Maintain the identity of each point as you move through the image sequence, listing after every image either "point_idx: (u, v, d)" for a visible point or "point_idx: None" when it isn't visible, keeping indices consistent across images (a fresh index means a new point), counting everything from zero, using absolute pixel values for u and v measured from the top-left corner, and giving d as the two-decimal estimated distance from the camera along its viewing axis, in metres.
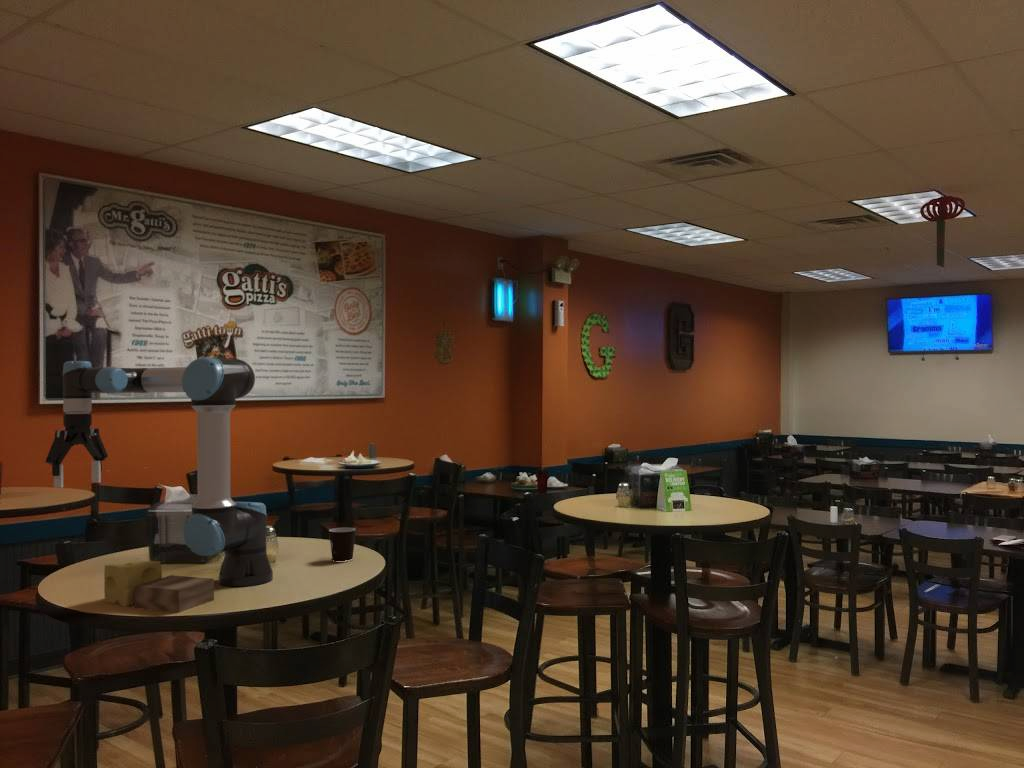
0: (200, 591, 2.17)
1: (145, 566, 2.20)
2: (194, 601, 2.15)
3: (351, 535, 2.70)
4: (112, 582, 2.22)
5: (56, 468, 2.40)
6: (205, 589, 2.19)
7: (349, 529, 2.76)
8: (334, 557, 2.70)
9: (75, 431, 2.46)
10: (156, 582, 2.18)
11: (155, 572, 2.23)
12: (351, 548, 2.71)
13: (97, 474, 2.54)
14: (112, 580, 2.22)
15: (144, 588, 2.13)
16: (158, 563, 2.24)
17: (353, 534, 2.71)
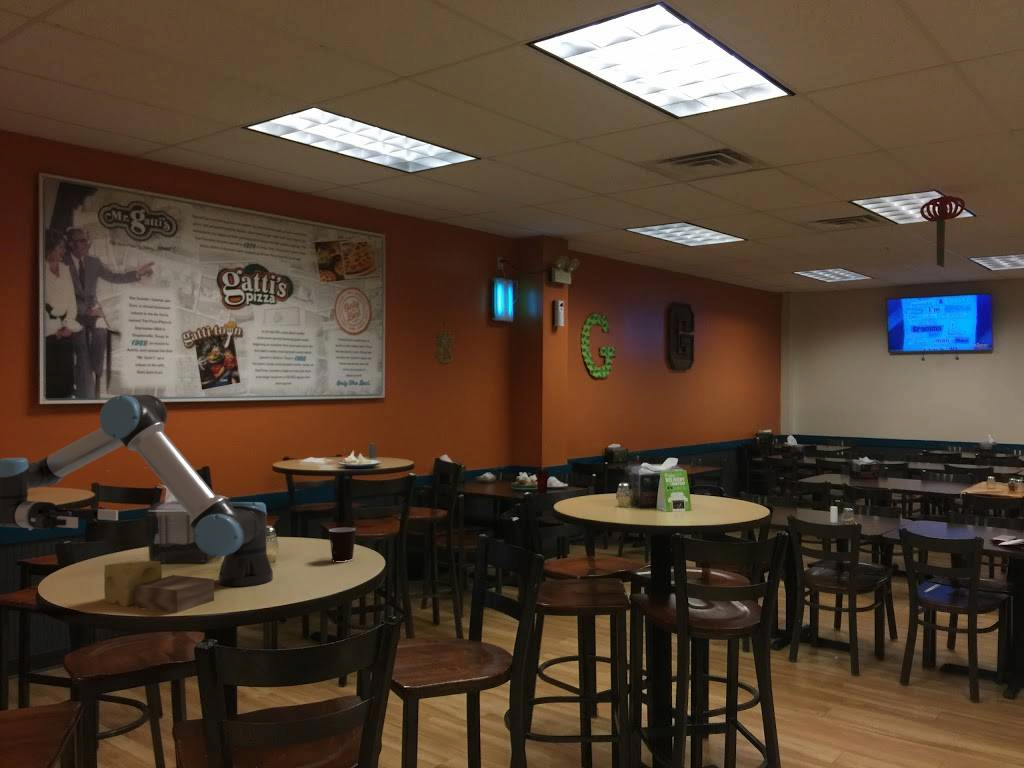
0: (199, 591, 2.17)
1: (145, 566, 2.20)
2: (193, 601, 2.14)
3: (351, 535, 2.70)
4: (112, 582, 2.22)
5: (56, 519, 2.21)
6: (205, 589, 2.18)
7: (349, 529, 2.76)
8: (334, 557, 2.70)
9: (47, 513, 2.30)
10: (156, 582, 2.18)
11: (155, 572, 2.23)
12: (351, 548, 2.71)
13: (109, 512, 2.33)
14: (112, 580, 2.22)
15: (143, 587, 2.14)
16: (158, 563, 2.24)
17: (353, 534, 2.71)
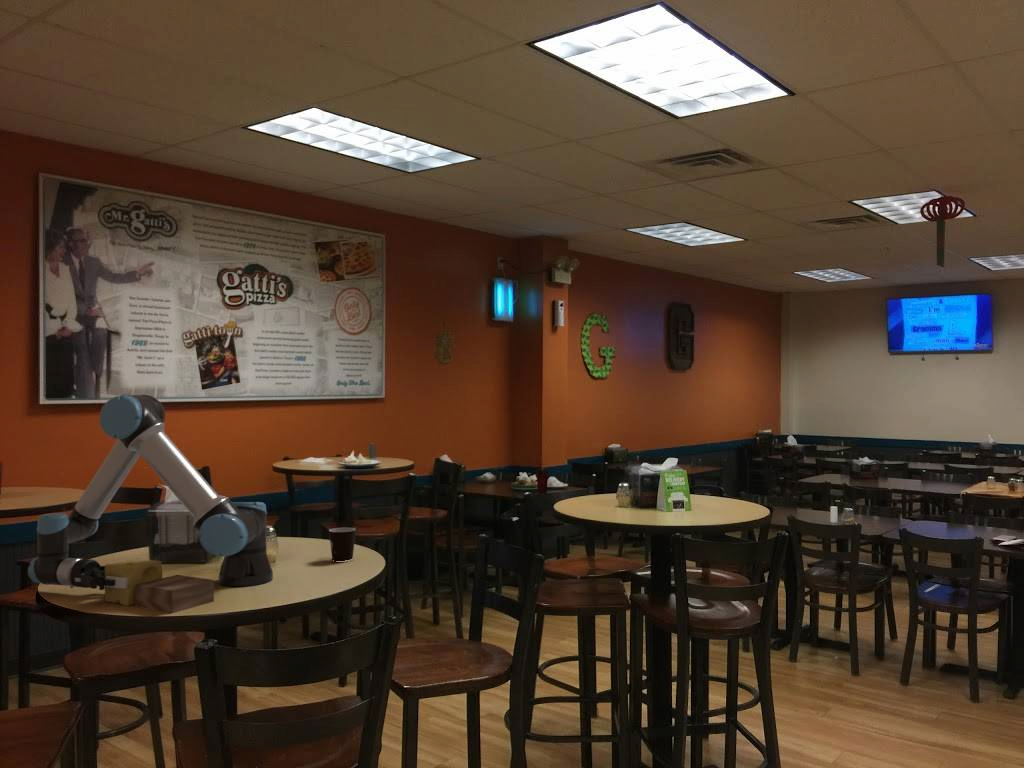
0: (197, 592, 2.16)
1: (146, 565, 2.21)
2: (190, 602, 2.14)
3: (351, 535, 2.70)
4: None
5: (105, 580, 2.16)
6: (203, 590, 2.17)
7: (349, 529, 2.76)
8: (334, 557, 2.70)
9: (89, 571, 2.25)
10: (157, 581, 2.19)
11: (156, 571, 2.24)
12: (351, 548, 2.71)
13: None
14: None
15: (143, 587, 2.14)
16: (159, 562, 2.24)
17: (353, 534, 2.71)
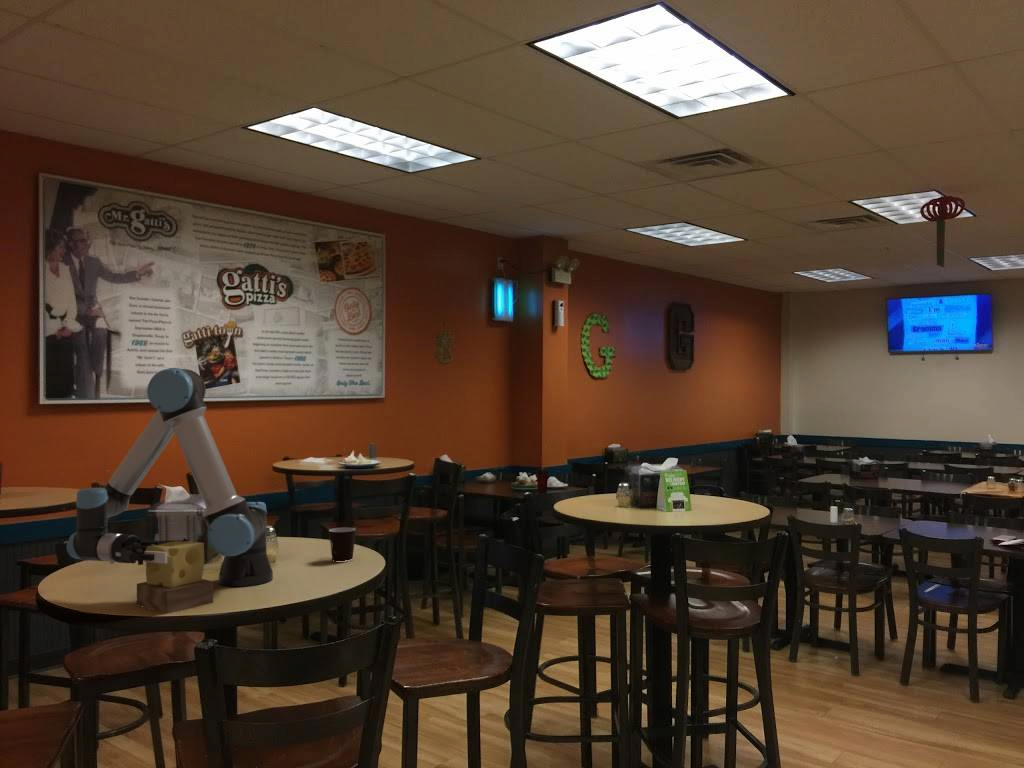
0: (194, 593, 2.15)
1: (189, 547, 2.16)
2: (187, 603, 2.13)
3: (351, 535, 2.70)
4: (154, 564, 2.17)
5: (144, 554, 2.11)
6: (201, 591, 2.17)
7: (349, 529, 2.76)
8: (334, 557, 2.70)
9: (131, 546, 2.21)
10: None
11: (198, 553, 2.19)
12: (351, 548, 2.71)
13: None
14: None
15: (143, 586, 2.15)
16: (201, 544, 2.19)
17: (353, 534, 2.71)
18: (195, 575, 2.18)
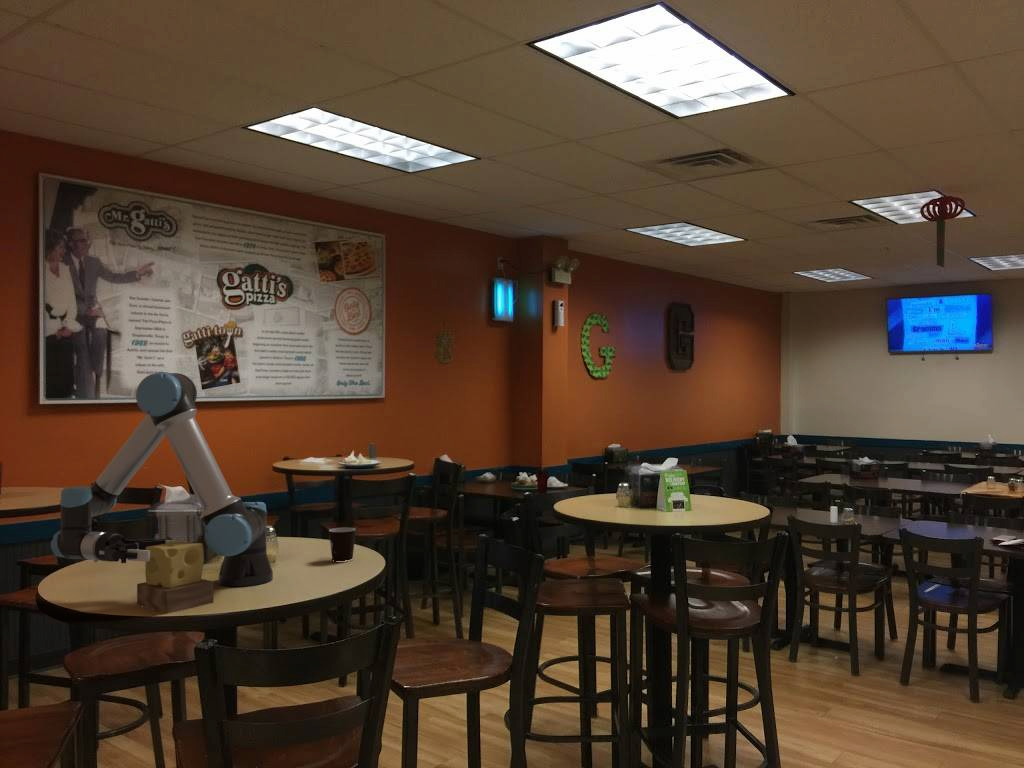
0: (195, 593, 2.15)
1: (188, 547, 2.16)
2: (187, 603, 2.13)
3: (351, 535, 2.70)
4: (154, 565, 2.17)
5: (127, 553, 2.13)
6: (202, 591, 2.17)
7: (349, 529, 2.76)
8: (334, 557, 2.70)
9: (114, 544, 2.22)
10: None
11: (197, 554, 2.19)
12: (351, 548, 2.71)
13: None
14: (153, 562, 2.17)
15: (143, 586, 2.15)
16: (200, 545, 2.19)
17: (353, 534, 2.71)
18: (194, 575, 2.17)
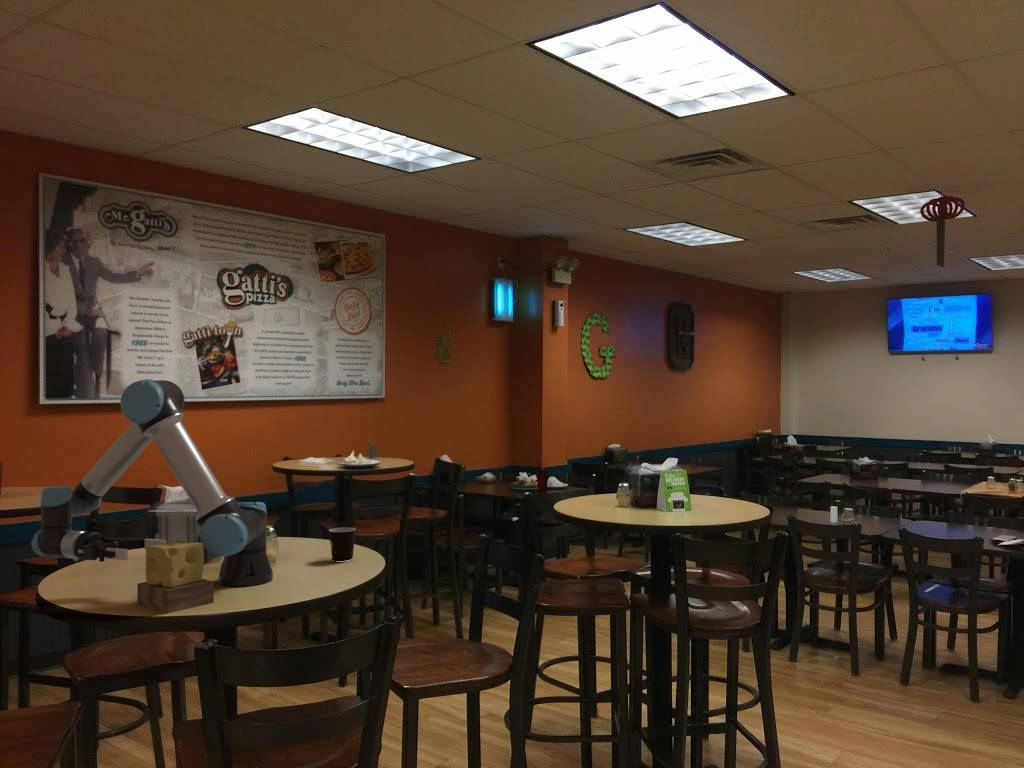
0: (195, 593, 2.15)
1: (188, 547, 2.16)
2: (187, 603, 2.13)
3: (351, 535, 2.70)
4: (154, 564, 2.17)
5: (105, 551, 2.15)
6: (202, 591, 2.17)
7: (349, 529, 2.76)
8: (334, 557, 2.70)
9: (93, 543, 2.25)
10: None
11: (197, 553, 2.19)
12: (351, 548, 2.71)
13: (156, 541, 2.28)
14: (153, 562, 2.17)
15: (143, 586, 2.15)
16: (200, 544, 2.19)
17: (353, 534, 2.71)
18: (194, 575, 2.17)
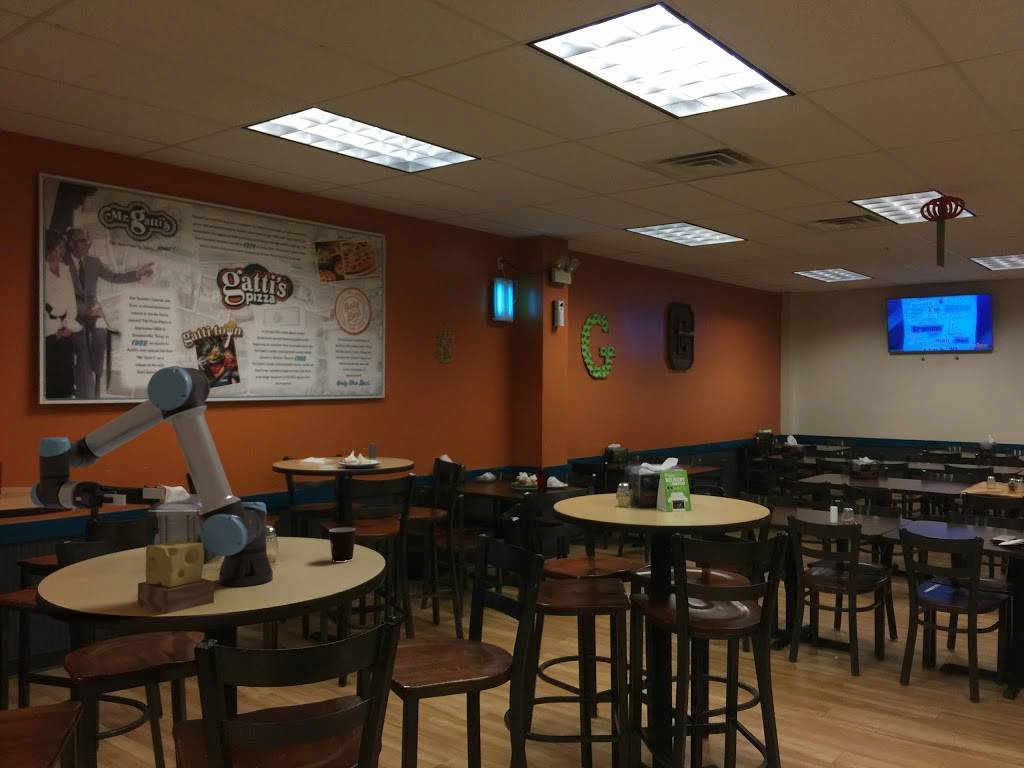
0: (195, 592, 2.15)
1: (188, 547, 2.16)
2: (187, 603, 2.13)
3: (351, 535, 2.70)
4: (154, 564, 2.17)
5: (103, 497, 2.16)
6: (202, 591, 2.17)
7: (349, 529, 2.76)
8: (334, 557, 2.70)
9: (92, 492, 2.25)
10: None
11: (197, 553, 2.19)
12: (351, 548, 2.71)
13: (154, 490, 2.28)
14: (153, 561, 2.17)
15: (144, 586, 2.15)
16: (201, 544, 2.19)
17: (353, 534, 2.71)
18: (194, 575, 2.17)
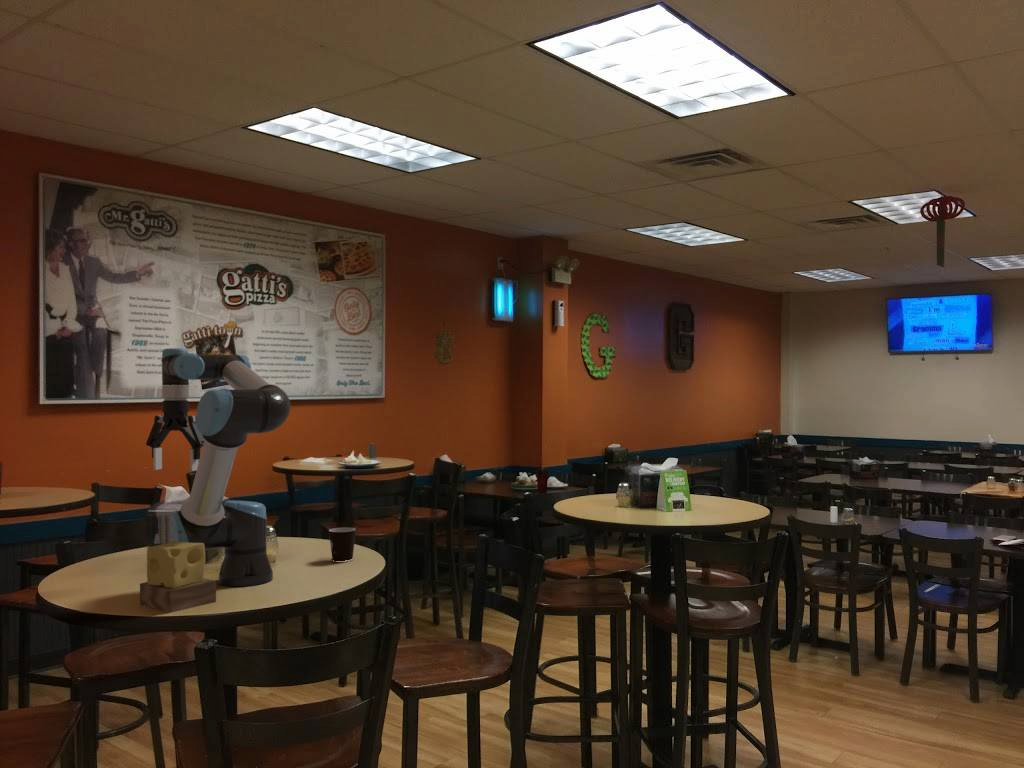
0: (197, 592, 2.16)
1: (190, 547, 2.16)
2: (190, 603, 2.14)
3: (351, 535, 2.70)
4: (155, 565, 2.17)
5: (152, 451, 2.55)
6: (204, 591, 2.17)
7: (349, 529, 2.76)
8: (334, 557, 2.70)
9: (168, 417, 2.52)
10: None
11: (199, 554, 2.19)
12: (351, 548, 2.71)
13: None
14: (155, 562, 2.17)
15: (146, 586, 2.16)
16: (202, 545, 2.19)
17: (353, 534, 2.71)
18: (196, 575, 2.18)
